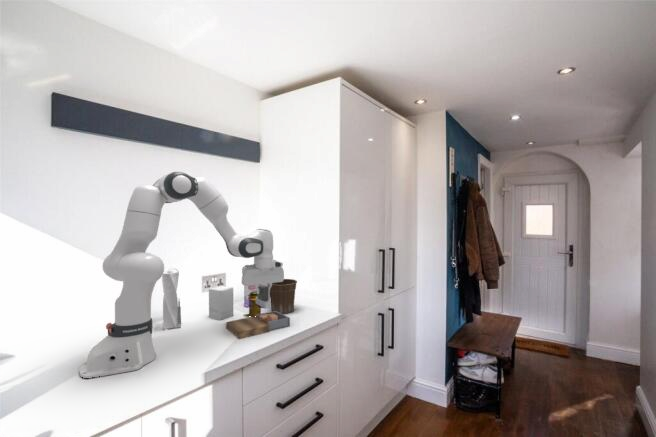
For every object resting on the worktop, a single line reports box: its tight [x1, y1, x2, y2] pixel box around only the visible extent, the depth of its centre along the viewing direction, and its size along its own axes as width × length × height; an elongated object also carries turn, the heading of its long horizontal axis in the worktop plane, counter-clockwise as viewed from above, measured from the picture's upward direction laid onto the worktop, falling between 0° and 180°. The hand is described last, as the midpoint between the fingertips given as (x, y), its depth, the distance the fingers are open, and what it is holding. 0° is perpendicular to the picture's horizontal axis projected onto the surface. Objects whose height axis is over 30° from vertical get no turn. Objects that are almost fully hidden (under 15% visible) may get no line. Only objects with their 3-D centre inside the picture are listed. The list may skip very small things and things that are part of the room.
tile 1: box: [259, 314, 267, 323], centre depth 155 cm, size 5×5×3 cm
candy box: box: [243, 284, 270, 309], centre depth 185 cm, size 14×6×16 cm, turn 80°
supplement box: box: [208, 285, 234, 321], centre depth 166 cm, size 9×9×15 cm
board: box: [225, 316, 270, 340], centre depth 146 cm, size 14×16×3 cm
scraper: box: [256, 285, 271, 310], centre depth 150 cm, size 3×11×9 cm, turn 36°
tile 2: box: [267, 313, 278, 324], centre depth 150 cm, size 5×5×3 cm
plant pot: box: [267, 278, 298, 315], centre depth 176 cm, size 16×16×16 cm
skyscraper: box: [161, 267, 182, 330], centre depth 150 cm, size 8×8×28 cm
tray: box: [256, 311, 291, 332], centre depth 153 cm, size 11×14×4 cm
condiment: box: [243, 292, 262, 318], centre depth 168 cm, size 7×8×12 cm
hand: (263, 293), depth 150 cm, fingers closed on scraper, 3 cm apart
